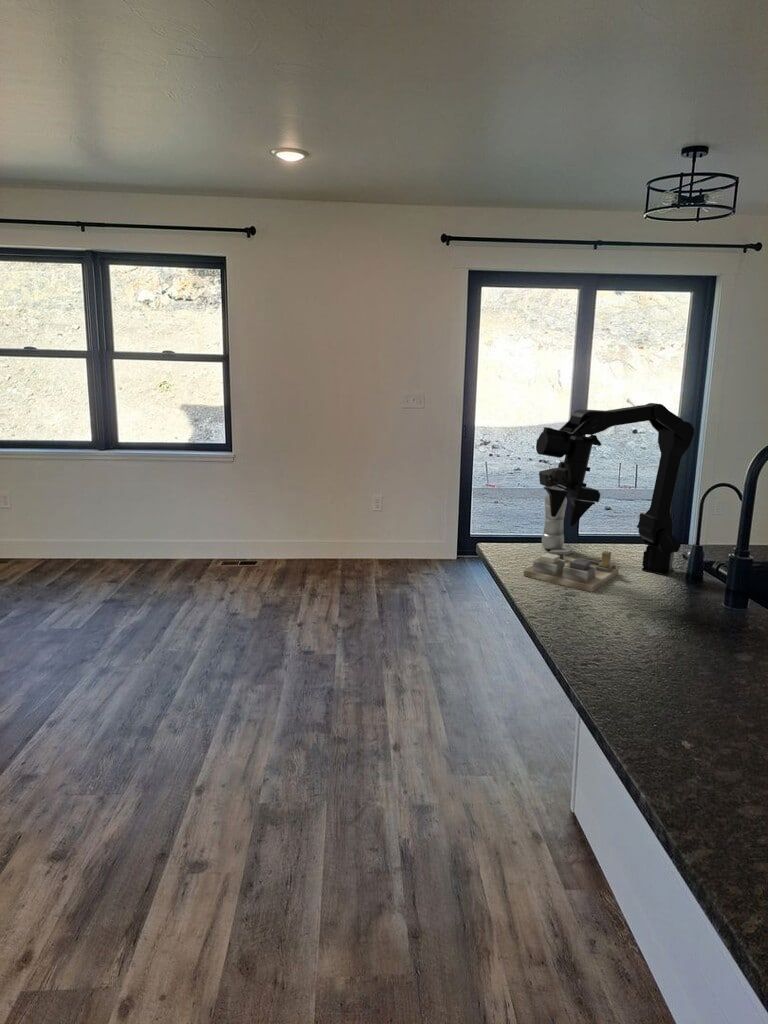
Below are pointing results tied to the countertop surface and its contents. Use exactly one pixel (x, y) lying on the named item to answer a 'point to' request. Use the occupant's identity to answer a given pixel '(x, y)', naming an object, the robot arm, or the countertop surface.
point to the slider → (606, 560)
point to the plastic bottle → (553, 526)
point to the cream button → (549, 558)
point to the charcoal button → (580, 564)
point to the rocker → (560, 552)
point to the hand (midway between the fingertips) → (562, 521)
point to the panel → (571, 573)
